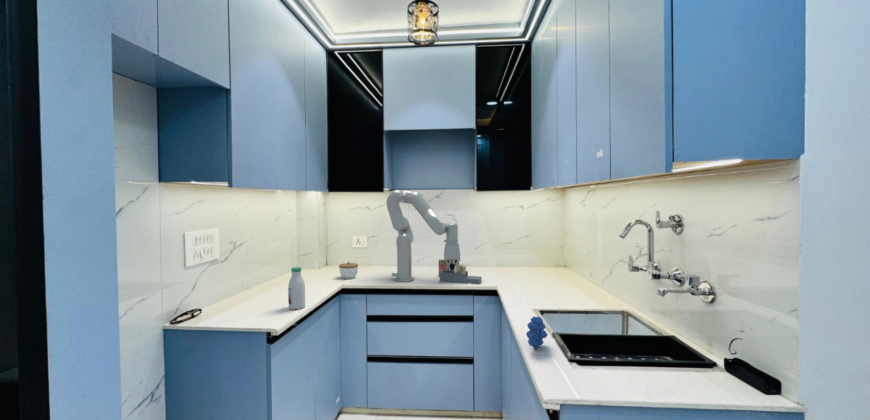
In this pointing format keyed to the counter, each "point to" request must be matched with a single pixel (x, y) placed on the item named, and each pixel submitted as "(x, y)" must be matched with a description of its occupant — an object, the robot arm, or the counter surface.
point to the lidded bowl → (348, 270)
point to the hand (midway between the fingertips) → (452, 269)
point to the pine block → (461, 269)
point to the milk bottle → (296, 290)
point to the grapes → (536, 332)
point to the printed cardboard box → (445, 265)
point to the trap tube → (458, 277)
